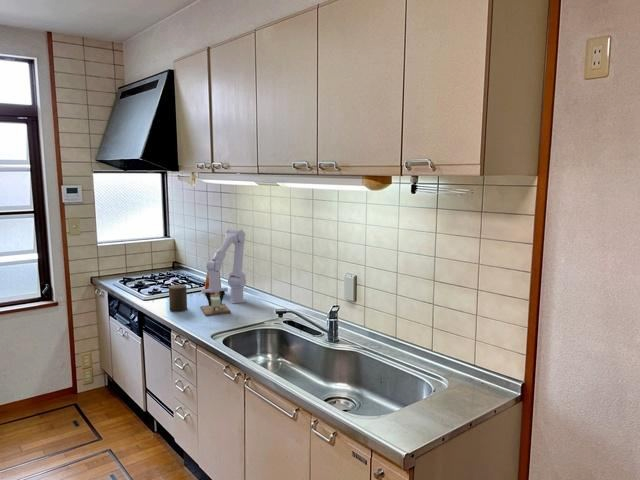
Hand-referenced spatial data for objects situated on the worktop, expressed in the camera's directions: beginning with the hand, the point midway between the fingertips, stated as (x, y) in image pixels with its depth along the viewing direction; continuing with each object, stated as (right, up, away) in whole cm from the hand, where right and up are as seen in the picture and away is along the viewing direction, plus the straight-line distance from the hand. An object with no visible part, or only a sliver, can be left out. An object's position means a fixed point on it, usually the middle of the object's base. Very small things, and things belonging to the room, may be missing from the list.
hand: (215, 304), depth 275 cm
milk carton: (-8, +2, +35) cm, 36 cm away
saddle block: (0, -2, 0) cm, 2 cm away
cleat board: (0, -3, +1) cm, 3 cm away
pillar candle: (-22, -3, +3) cm, 22 cm away
